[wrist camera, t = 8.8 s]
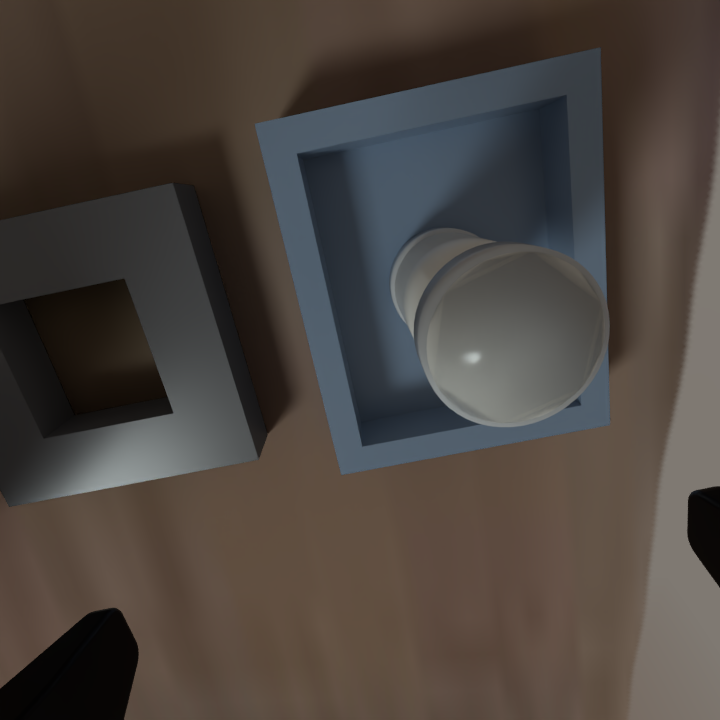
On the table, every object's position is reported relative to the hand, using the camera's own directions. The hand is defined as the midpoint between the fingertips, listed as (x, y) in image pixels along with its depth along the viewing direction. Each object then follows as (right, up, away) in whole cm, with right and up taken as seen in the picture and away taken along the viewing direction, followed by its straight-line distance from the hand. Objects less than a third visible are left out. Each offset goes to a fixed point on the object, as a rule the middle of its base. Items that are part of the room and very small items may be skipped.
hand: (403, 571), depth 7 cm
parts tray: (+2, +6, +10) cm, 12 cm away
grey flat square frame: (-10, +4, +11) cm, 15 cm away
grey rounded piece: (+2, +6, +10) cm, 12 cm away
